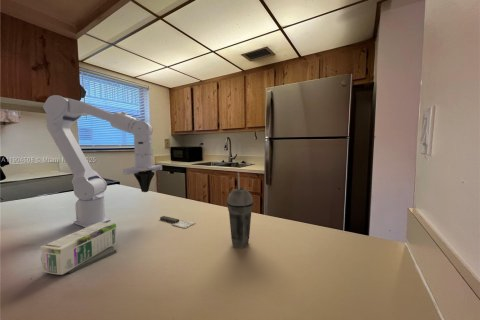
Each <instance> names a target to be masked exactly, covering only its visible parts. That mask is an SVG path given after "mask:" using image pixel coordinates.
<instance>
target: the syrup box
mask: <svg viewBox="0 0 480 320" xmlns="http://www.w3.org/2000/svg"><path fill="white" fill-rule="evenodd" d="M117 243H118V239H117V223H114V222H113V223H112V222H104V223H103V222H98V223H96V224H94V225H91V226H89V227H87V228H85V227H83V228H82V229H79V230H77V231H75V232H73V233H70V234H68V235H66V236H65V235H64V236H63V237H60V238H58V239H55V240H53V241H51V242H48V243H46V244H44V245H41V246H40V251H41V271H42V272H43V273H47V274H52V275H64V274H67V273H68V271H70V270H72V269H73V268H75V267H77V266H78V265H80V264H82V263H83V262H85V261H87V260H88V259H90V258H92V257H93V256H95V255H97V254H98V253H100V252H102V251H104V250H105V249H107V248H109V247H111V248H112V246H114V245H116V244H117Z"/></svg>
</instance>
